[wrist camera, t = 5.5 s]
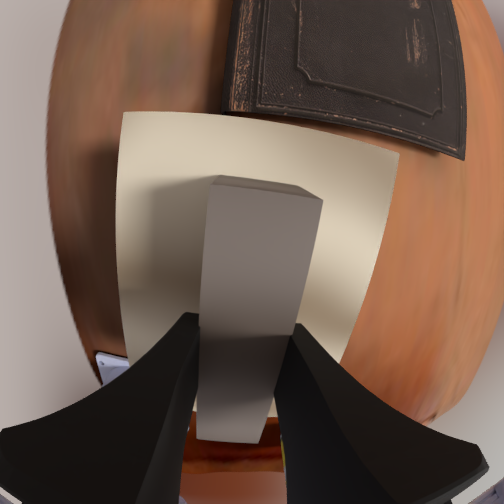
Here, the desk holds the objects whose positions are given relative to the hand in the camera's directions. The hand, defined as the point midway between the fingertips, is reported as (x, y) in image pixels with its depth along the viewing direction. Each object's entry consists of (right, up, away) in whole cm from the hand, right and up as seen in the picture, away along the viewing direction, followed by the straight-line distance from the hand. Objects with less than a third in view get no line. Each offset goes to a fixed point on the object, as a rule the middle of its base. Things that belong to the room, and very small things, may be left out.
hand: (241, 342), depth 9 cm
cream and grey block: (0, +1, +3) cm, 3 cm away
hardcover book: (+7, +21, +2) cm, 23 cm away
